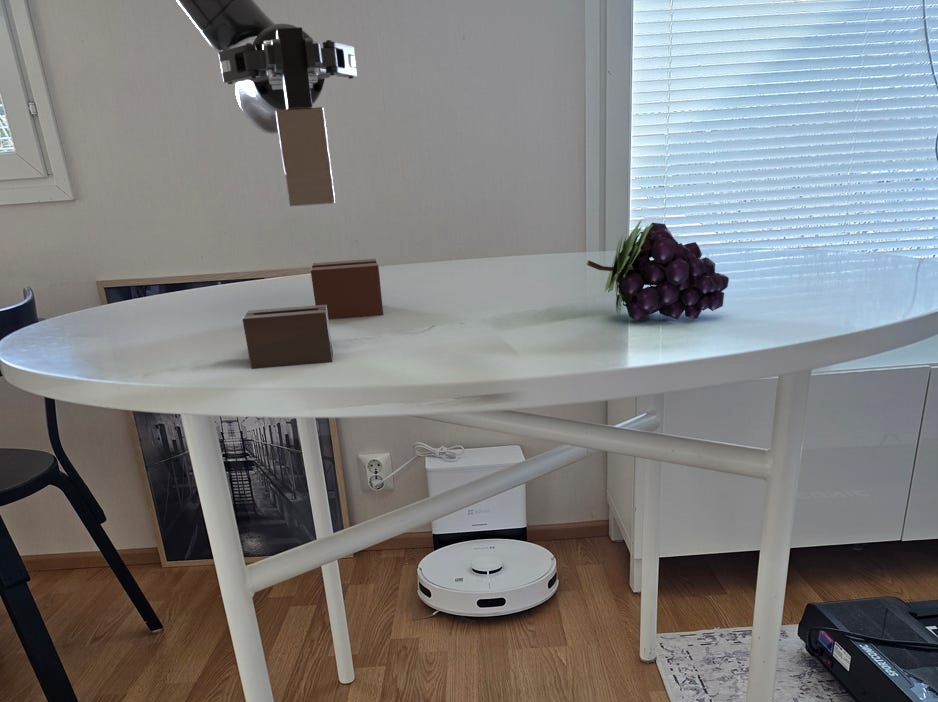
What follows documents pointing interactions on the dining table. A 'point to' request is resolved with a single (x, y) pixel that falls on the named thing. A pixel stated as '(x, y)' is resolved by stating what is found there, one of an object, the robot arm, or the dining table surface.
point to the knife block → (288, 336)
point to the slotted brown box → (348, 288)
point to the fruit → (663, 276)
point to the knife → (302, 129)
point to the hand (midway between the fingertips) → (294, 53)
